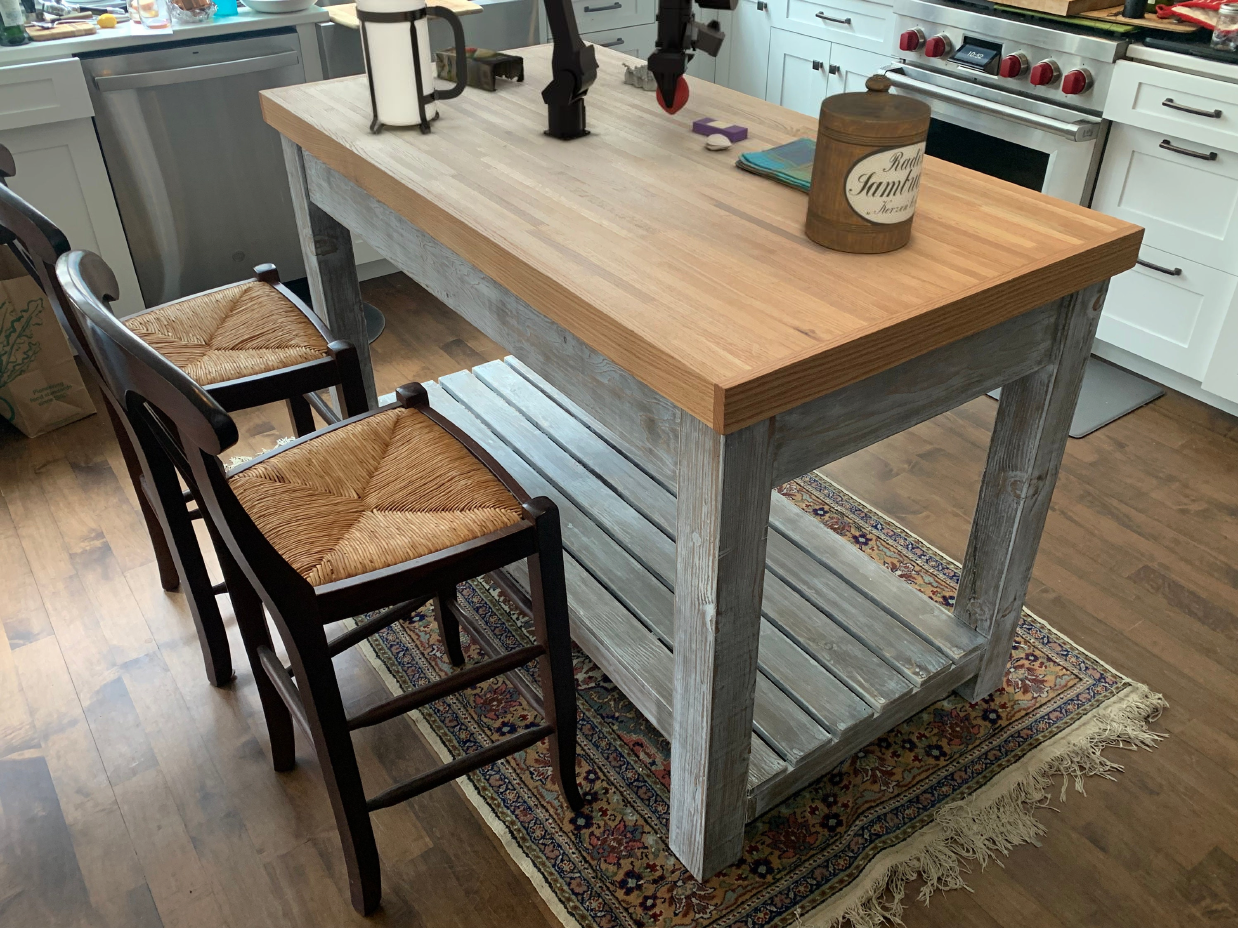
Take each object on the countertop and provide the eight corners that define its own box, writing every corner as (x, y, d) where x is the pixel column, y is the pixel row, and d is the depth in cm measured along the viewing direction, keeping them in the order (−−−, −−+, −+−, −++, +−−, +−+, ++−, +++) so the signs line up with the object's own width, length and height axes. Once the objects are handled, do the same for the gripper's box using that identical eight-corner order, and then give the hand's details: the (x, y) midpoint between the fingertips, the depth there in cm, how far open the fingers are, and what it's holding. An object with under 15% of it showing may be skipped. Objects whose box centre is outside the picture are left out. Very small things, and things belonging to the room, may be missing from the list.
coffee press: (392, 144, 178) (369, -41, 161) (351, 124, 188) (325, -52, 171) (474, 126, 187) (459, -50, 170) (430, 108, 197) (413, -60, 180)
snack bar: (747, 138, 181) (748, 127, 180) (733, 143, 178) (733, 132, 177) (706, 127, 187) (706, 117, 186) (692, 131, 184) (692, 121, 183)
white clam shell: (714, 144, 178) (715, 130, 176) (737, 150, 175) (738, 135, 174) (700, 150, 175) (701, 135, 174) (724, 155, 172) (725, 141, 171)
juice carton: (431, 77, 218) (428, 47, 215) (465, 69, 224) (463, 40, 221) (492, 94, 207) (491, 63, 204) (526, 85, 213) (525, 55, 210)
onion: (688, 120, 171) (691, 71, 166) (655, 119, 171) (656, 71, 166) (687, 110, 175) (689, 63, 171) (655, 110, 176) (656, 63, 171)
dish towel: (806, 149, 175) (807, 135, 174) (909, 185, 160) (912, 169, 158) (733, 168, 167) (734, 153, 165) (834, 207, 151) (836, 191, 150)
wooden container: (859, 263, 134) (884, 95, 121) (783, 230, 144) (799, 72, 131) (931, 238, 141) (962, 78, 128) (854, 208, 151) (875, 57, 138)
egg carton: (619, 82, 215) (619, 62, 213) (648, 77, 218) (648, 58, 216) (647, 92, 207) (647, 72, 205) (676, 87, 211) (676, 67, 208)
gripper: (717, 19, 154) (712, 121, 163) (729, -2, 169) (723, 92, 178) (647, 16, 156) (645, 117, 165) (665, -5, 171) (662, 89, 180)
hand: (671, 103), depth 172 cm, fingers closed on onion, 6 cm apart
